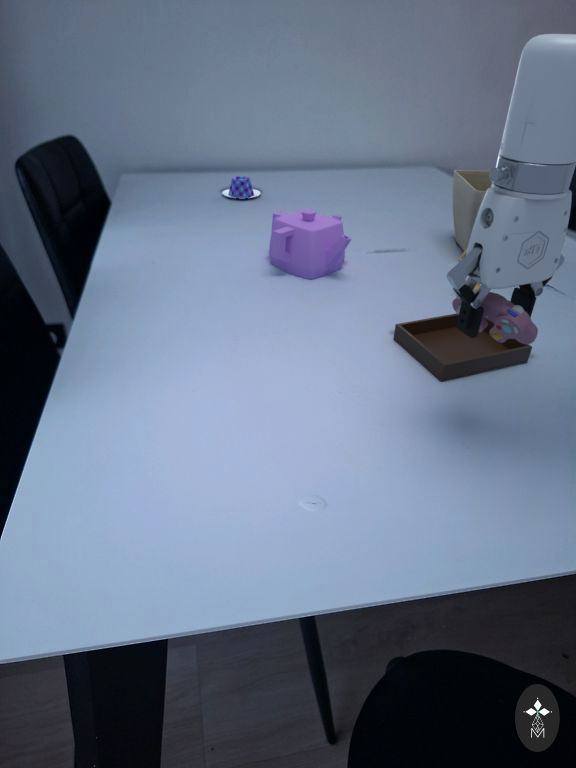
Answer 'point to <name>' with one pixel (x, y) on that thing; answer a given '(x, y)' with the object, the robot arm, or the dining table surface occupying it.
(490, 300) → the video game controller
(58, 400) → the dining table surface
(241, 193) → the pudding
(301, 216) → the teakettle
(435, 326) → the tray
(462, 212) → the flower pot
